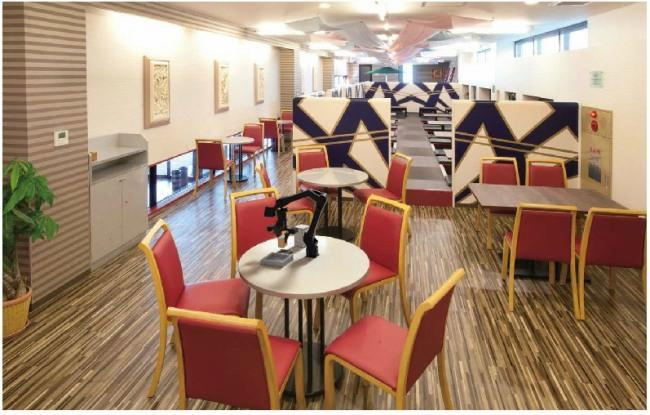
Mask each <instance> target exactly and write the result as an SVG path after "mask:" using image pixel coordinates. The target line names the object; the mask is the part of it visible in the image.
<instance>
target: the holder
mask: <svg viewBox="0 0 650 415" xmlns="http://www.w3.org/2000/svg"><path fill="white" fill-rule="evenodd" d="M275 253H284V254H290V255H291V254H292V253H293V250H292V249H285V248H281V249H280V248H279V250H277V251H276V252H275Z"/></svg>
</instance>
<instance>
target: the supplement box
mask: <svg viewBox="0 0 650 415" xmlns="http://www.w3.org/2000/svg"><path fill="white" fill-rule="evenodd" d="M294 227H297V228H298V232H297V233H296V234H293V244H294V245H293V246H295V247H297V248H298V247H299V248H303V249H304V248H305V247H306V244H305V243H304V242H303V238H302V237H303V236H304V232H305V231H306V230H307V229H308V230H309V227H310V225H307V224H302V223H301V224H298V225H296V226H294Z"/></svg>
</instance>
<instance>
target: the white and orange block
mask: <svg viewBox="0 0 650 415" xmlns="http://www.w3.org/2000/svg"><path fill="white" fill-rule="evenodd" d="M288 244H289V243H288V241H287V242H286V244H285V235H284V234H281V236H280V237H278V239H277V248H279V249H280V248H281V249H285V248H286V247H287V246H288Z"/></svg>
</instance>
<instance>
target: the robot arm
mask: <svg viewBox="0 0 650 415" xmlns="http://www.w3.org/2000/svg"><path fill="white" fill-rule="evenodd" d="M308 197H309V198H310V199H311V200H313V201H315V202H316V203H315V210H314V213H313V216H312V218H311V222H310V224H309V226H310V227H309V230H308V229H307V230H306V231H305V232H304V236H303V237H302V238H303V242H304V243H305V244H306V246H305V247H306V248H305V257H306V258H313V259H315V258H317V257H319V256H320V253H319V245H318V244H319V240H318V238H316V234H317V232H316V230H317V227H318V224H319V220H320V219H321V216H322V213H323V210H324V208H325V206H326V204H327V203H328V201H329V195H328V194H327V193H326V192H321V191H319V190H315V189H313V188H308V189H306V190H303V191H299V192H297V193H294V194H290V195H282V196H280V197H278V198H277V199H276V200H275V204H274V205H273V206H270V205H266V206H265V207H264V212H263V216H264V218H273V219H275V217H277V218H276V221H275V224H269V225H268V226H267V227H266V228H265V229H266V232H272V234H275V236H276V238H277V240H278V237H280V236H281V235H282V232H284V233H283V235H285V244H286V242H288V241H289V240H288V239H289V237H290V235H294V234H296V233H297V232H298V228H297V227H295V226H291V227H290V228H289V225H288V220H289V219H288V217H287V212H290V211H291V208H289V207H288V205H289V204H291V203H294V202H297V201H299V200H303V199H305V198H308Z"/></svg>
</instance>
